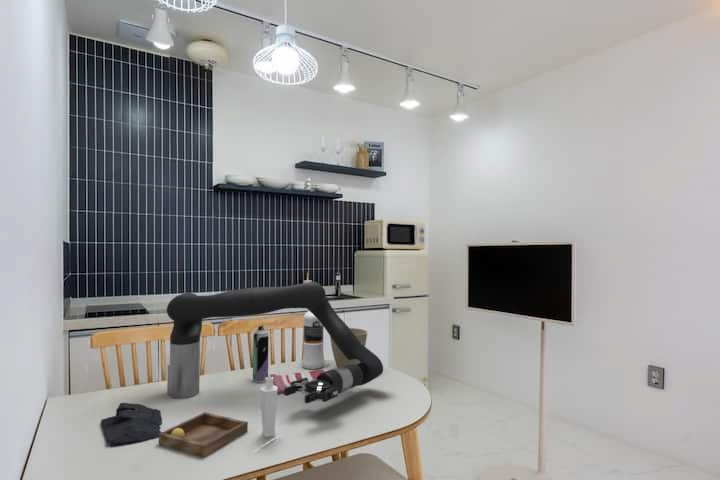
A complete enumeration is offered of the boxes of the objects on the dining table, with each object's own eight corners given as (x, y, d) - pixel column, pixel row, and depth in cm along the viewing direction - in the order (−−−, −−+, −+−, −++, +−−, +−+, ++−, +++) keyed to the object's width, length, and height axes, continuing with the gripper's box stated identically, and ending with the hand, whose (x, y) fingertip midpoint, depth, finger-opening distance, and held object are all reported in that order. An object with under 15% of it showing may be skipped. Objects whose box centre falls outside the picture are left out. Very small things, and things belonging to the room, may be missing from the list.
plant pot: (368, 377, 159) (369, 335, 159) (329, 378, 158) (329, 335, 158) (365, 366, 174) (365, 327, 174) (329, 366, 173) (329, 327, 173)
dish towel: (268, 381, 155) (268, 373, 155) (329, 374, 164) (329, 367, 164) (276, 396, 140) (276, 388, 140) (343, 388, 148) (343, 380, 148)
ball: (167, 442, 104) (167, 429, 104) (177, 437, 107) (178, 424, 107) (176, 445, 102) (177, 432, 103) (187, 440, 105) (187, 427, 105)
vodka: (322, 362, 178) (323, 291, 178) (326, 369, 169) (326, 294, 169) (300, 364, 176) (301, 292, 176) (303, 370, 167) (303, 294, 167)
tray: (158, 446, 103) (158, 433, 103) (204, 423, 117) (204, 412, 117) (204, 460, 97) (204, 446, 97) (247, 433, 110) (247, 422, 110)
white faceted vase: (260, 432, 112) (261, 375, 112) (277, 431, 112) (278, 375, 112) (258, 440, 107) (258, 381, 107) (275, 439, 107) (276, 380, 108)
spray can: (264, 383, 151) (264, 327, 151) (250, 382, 152) (250, 327, 152) (270, 378, 156) (271, 324, 156) (256, 377, 157) (257, 324, 157)
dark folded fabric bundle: (97, 455, 100) (97, 435, 100) (101, 421, 119) (101, 404, 119) (167, 441, 107) (168, 422, 107) (161, 411, 126) (161, 395, 126)
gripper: (318, 365, 134) (278, 376, 121) (352, 374, 125) (313, 388, 112) (318, 388, 134) (278, 403, 121) (352, 399, 125) (312, 416, 112)
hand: (295, 395), depth 117 cm, fingers open, 8 cm apart
